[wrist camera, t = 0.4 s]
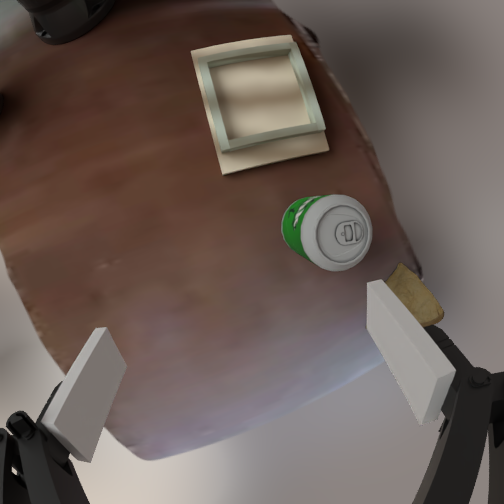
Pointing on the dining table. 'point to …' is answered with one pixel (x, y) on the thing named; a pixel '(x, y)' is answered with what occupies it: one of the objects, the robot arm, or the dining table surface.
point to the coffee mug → (1, 102)
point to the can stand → (259, 102)
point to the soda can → (328, 230)
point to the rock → (415, 296)
